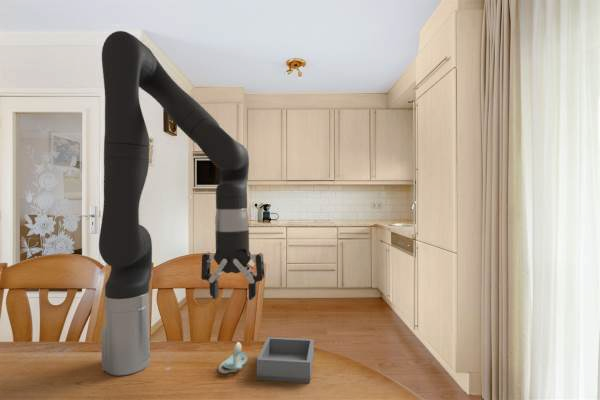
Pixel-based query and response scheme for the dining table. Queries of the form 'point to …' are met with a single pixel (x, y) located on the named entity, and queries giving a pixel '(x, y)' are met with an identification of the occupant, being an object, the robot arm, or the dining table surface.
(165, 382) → the dining table surface
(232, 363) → the pacifier
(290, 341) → the bin
